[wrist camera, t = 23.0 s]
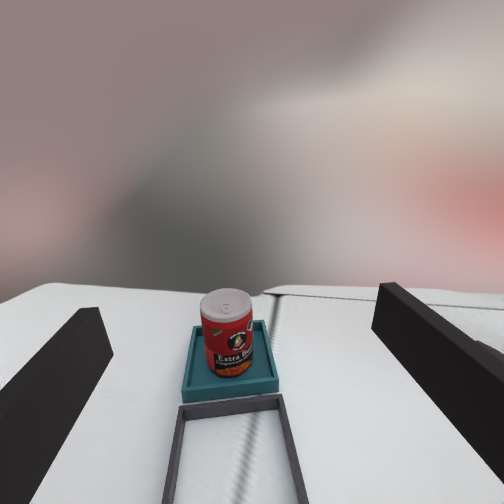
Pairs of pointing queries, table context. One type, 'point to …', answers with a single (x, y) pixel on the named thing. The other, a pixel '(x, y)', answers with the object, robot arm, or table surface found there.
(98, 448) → the table surface
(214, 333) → the canned food
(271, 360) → the tray
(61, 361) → the robot arm
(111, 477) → the table surface
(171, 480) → the tray
